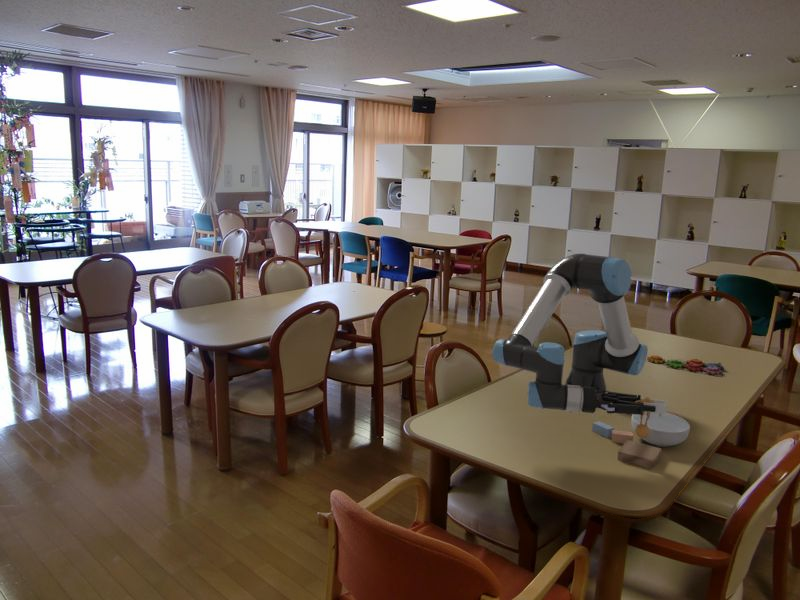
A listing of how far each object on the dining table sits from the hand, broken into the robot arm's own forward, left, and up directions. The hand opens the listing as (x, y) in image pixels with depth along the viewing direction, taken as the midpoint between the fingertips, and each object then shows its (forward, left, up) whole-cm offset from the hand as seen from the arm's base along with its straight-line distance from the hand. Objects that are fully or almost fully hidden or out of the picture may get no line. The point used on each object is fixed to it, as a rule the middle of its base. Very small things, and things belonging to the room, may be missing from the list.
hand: (665, 407), depth 180 cm
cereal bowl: (-3, +14, -17) cm, 22 cm away
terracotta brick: (-12, +7, -17) cm, 22 cm away
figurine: (-5, -2, -9) cm, 11 cm away
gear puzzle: (-13, +107, -17) cm, 109 cm away
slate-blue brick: (-19, +9, -17) cm, 27 cm away
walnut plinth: (-5, -2, -17) cm, 18 cm away
